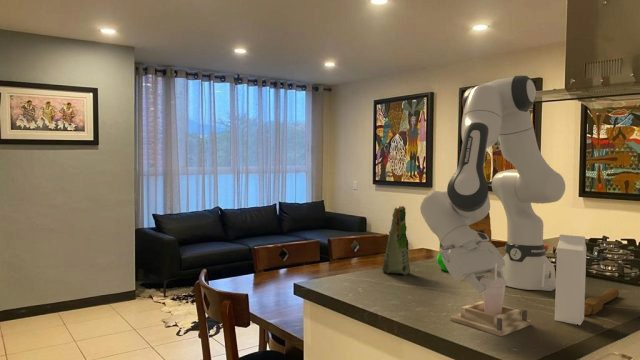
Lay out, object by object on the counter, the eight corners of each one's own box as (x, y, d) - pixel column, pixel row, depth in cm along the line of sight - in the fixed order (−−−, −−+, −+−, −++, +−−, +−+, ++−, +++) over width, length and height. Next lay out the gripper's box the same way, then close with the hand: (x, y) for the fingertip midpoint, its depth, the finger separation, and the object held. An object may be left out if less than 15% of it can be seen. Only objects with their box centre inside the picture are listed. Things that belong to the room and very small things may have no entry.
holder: (481, 310, 128) (481, 298, 128) (531, 324, 117) (531, 310, 117) (450, 320, 119) (450, 306, 119) (501, 336, 108) (501, 321, 108)
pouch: (401, 268, 181) (403, 204, 180) (418, 275, 169) (420, 206, 169) (375, 270, 177) (377, 204, 176) (391, 277, 165) (393, 206, 165)
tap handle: (619, 288, 145) (590, 306, 124) (619, 298, 145) (589, 318, 124) (608, 286, 147) (577, 304, 126) (608, 296, 147) (577, 315, 126)
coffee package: (487, 268, 183) (489, 212, 183) (456, 264, 191) (458, 210, 191) (495, 265, 191) (497, 211, 191) (465, 260, 199) (467, 209, 198)
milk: (558, 315, 126) (561, 233, 125) (584, 319, 122) (587, 235, 122) (554, 320, 121) (556, 235, 120) (580, 325, 117) (583, 237, 117)
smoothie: (508, 322, 115) (509, 266, 115) (481, 320, 116) (482, 265, 116) (503, 313, 122) (504, 260, 121) (477, 312, 123) (478, 259, 122)
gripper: (444, 239, 116) (478, 287, 109) (489, 233, 129) (522, 275, 122) (429, 254, 120) (461, 301, 113) (475, 247, 133) (506, 289, 125)
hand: (493, 288), depth 117 cm, fingers open, 8 cm apart
